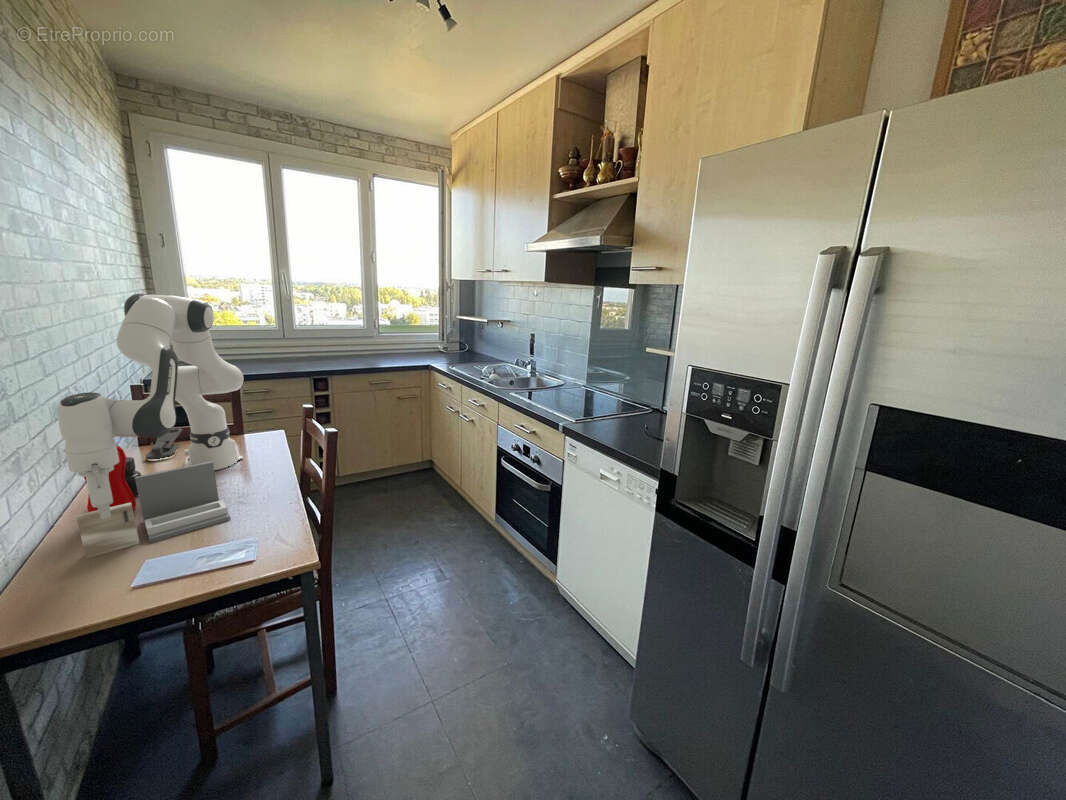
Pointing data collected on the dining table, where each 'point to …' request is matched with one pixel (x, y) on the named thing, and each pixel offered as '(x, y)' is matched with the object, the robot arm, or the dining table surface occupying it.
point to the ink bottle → (131, 475)
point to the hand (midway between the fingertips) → (104, 510)
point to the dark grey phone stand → (164, 445)
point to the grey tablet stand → (180, 500)
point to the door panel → (107, 530)
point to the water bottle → (118, 485)
